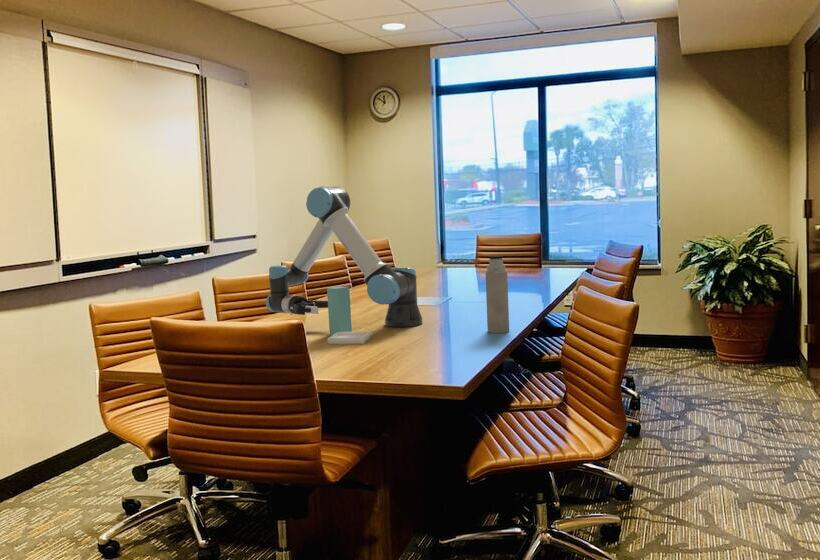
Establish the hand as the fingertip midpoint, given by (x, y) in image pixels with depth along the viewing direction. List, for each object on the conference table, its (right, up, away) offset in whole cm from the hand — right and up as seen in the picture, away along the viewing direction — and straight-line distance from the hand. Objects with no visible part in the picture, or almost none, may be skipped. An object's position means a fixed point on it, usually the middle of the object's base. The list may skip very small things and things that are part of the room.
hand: (330, 307), depth 286 cm
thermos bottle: (+63, -8, -11) cm, 65 cm away
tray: (+9, -11, -16) cm, 21 cm away
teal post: (+4, -10, -2) cm, 11 cm away
